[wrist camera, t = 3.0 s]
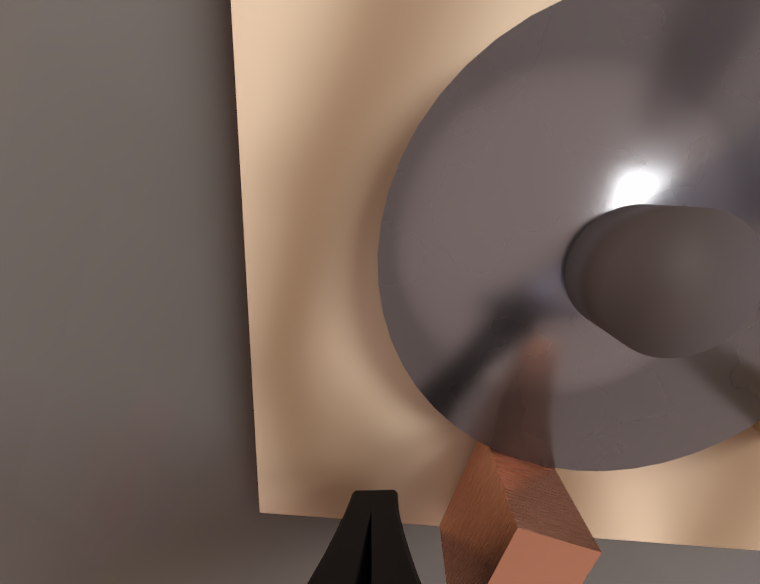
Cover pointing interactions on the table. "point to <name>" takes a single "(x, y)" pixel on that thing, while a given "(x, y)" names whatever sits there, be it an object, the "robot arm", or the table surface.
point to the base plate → (361, 291)
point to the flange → (548, 259)
